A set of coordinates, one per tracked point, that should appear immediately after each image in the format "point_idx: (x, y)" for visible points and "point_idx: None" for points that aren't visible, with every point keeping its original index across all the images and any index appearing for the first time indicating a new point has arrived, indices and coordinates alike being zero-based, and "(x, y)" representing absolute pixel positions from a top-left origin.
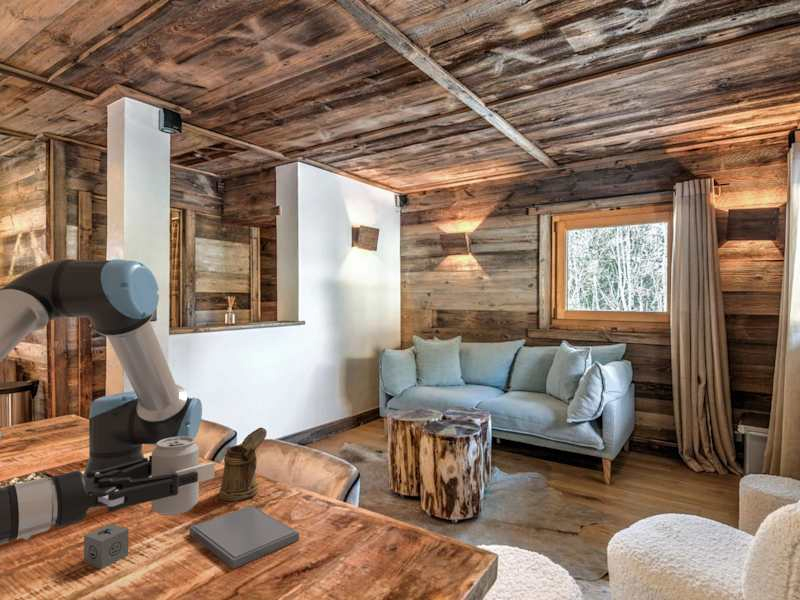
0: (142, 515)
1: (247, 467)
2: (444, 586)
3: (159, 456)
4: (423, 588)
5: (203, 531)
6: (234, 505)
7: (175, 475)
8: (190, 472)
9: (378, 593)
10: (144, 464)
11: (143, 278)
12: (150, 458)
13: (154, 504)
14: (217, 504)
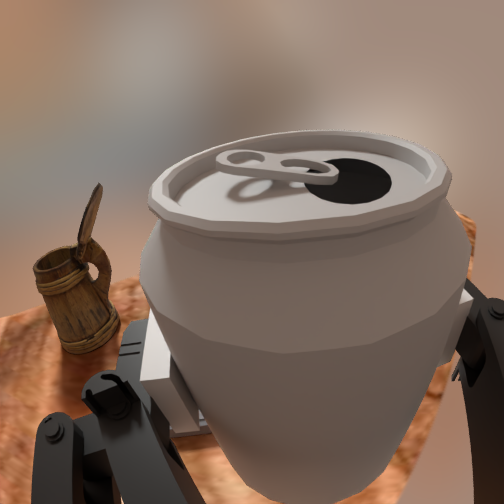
0: (23, 464)
1: (89, 279)
2: (466, 227)
3: (455, 291)
4: (468, 237)
5: (202, 415)
6: (119, 346)
7: (501, 305)
8: None
9: (472, 263)
10: (164, 467)
11: None
12: (94, 404)
13: (350, 490)
14: (92, 364)
